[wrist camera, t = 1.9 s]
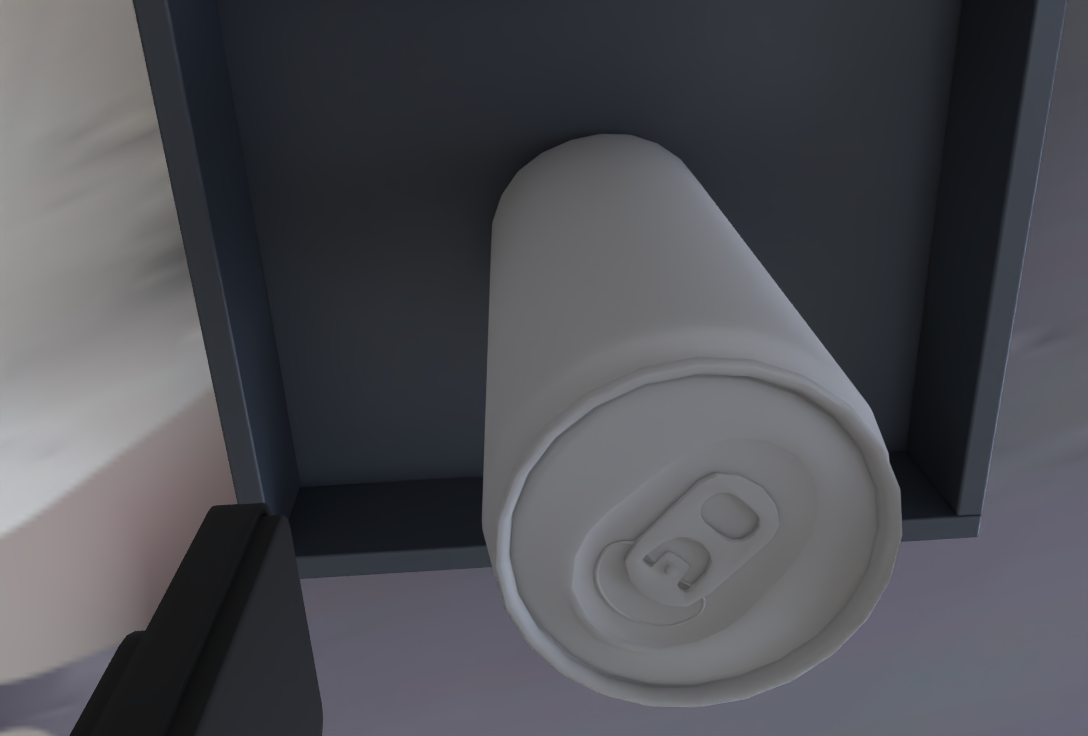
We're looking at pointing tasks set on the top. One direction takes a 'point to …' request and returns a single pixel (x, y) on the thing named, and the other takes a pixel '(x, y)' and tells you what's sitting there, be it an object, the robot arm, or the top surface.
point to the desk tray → (519, 137)
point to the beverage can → (668, 441)
